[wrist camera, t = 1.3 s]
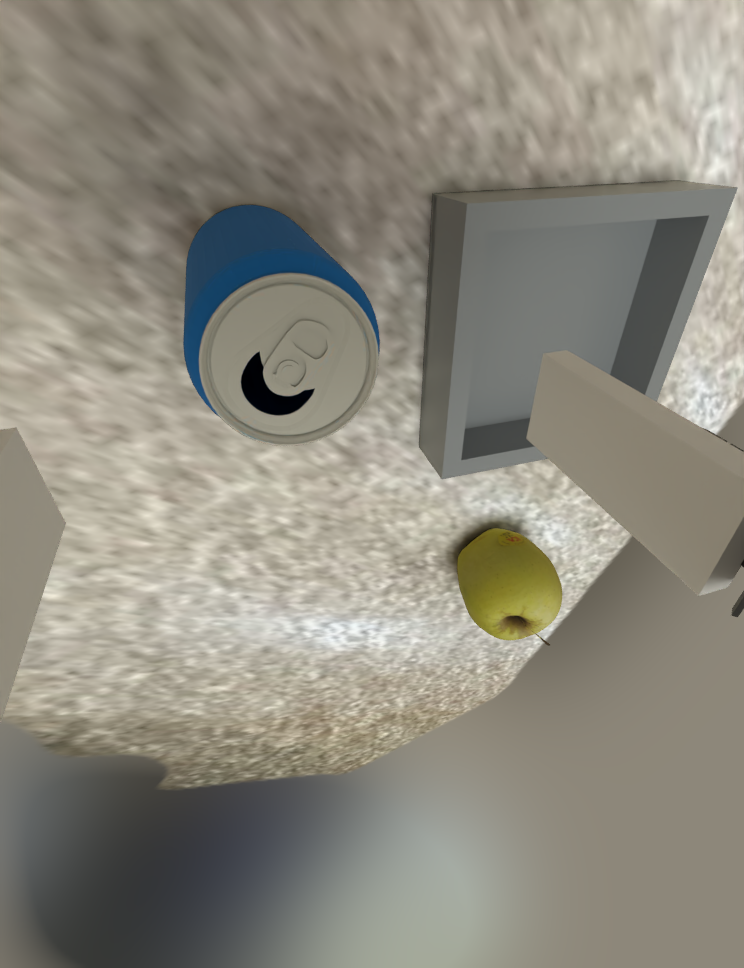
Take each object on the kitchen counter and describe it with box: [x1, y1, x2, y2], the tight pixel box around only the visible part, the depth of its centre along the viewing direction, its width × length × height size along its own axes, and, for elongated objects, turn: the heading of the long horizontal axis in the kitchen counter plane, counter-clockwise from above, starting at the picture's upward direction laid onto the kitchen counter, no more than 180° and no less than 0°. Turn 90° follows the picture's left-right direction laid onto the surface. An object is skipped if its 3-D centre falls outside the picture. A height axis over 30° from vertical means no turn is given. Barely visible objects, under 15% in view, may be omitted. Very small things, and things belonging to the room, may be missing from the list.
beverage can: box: [184, 205, 380, 446], centre depth 20 cm, size 6×6×12 cm
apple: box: [457, 528, 562, 645], centre depth 39 cm, size 8×8×10 cm
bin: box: [419, 181, 737, 479], centre depth 29 cm, size 15×15×4 cm
